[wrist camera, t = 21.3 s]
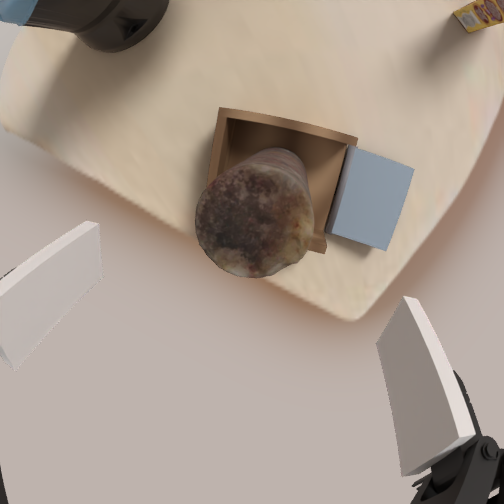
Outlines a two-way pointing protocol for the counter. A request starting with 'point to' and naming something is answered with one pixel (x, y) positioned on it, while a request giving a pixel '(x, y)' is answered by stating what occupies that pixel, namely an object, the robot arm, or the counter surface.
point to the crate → (292, 138)
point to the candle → (257, 215)
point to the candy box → (481, 14)
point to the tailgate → (369, 198)
